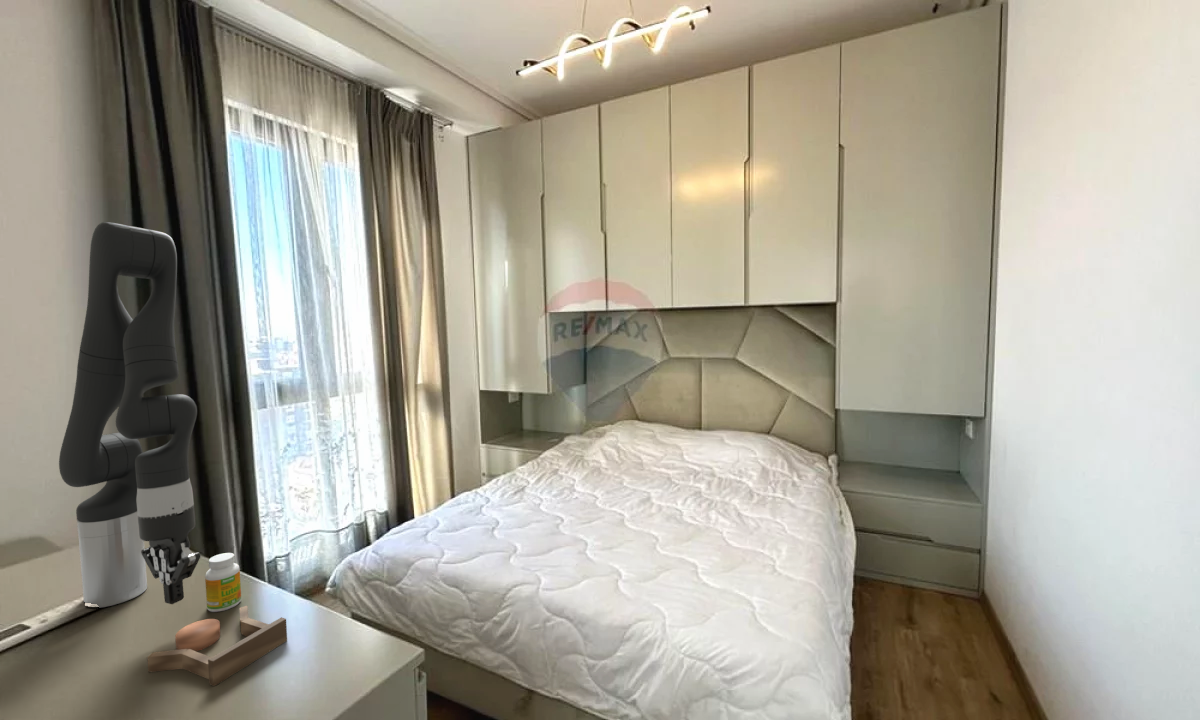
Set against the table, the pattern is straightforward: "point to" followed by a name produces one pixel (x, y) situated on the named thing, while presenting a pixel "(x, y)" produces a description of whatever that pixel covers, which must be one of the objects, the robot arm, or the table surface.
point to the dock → (225, 651)
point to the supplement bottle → (222, 583)
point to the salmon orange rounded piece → (198, 635)
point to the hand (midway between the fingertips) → (174, 601)
